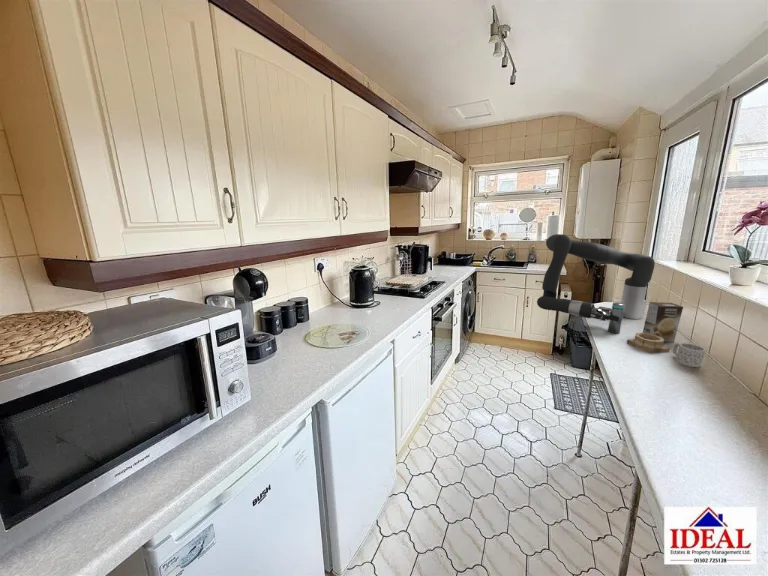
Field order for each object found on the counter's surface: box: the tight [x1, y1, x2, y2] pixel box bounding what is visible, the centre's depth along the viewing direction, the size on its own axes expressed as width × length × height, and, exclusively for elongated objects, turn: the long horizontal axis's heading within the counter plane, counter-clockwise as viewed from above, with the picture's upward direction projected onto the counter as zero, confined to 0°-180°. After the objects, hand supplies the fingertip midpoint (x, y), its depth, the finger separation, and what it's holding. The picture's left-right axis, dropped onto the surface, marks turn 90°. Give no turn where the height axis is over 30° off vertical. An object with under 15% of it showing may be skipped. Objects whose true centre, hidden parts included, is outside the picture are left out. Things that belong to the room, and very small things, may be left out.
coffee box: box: [642, 301, 684, 343], centre depth 131 cm, size 9×6×16 cm
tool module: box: [607, 302, 625, 335], centre depth 138 cm, size 4×4×14 cm
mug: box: [672, 342, 706, 368], centre depth 112 cm, size 10×7×7 cm, turn 176°
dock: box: [626, 332, 671, 354], centre depth 124 cm, size 9×10×4 cm
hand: (621, 317), depth 137 cm, fingers open, 8 cm apart
